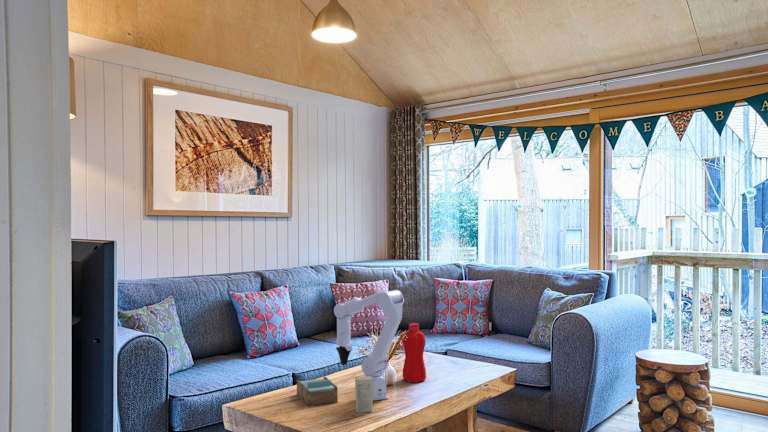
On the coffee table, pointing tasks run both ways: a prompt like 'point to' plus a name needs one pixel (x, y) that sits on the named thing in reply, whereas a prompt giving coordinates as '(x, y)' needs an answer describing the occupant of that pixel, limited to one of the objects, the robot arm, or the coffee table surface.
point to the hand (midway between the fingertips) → (343, 364)
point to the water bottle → (414, 354)
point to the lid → (318, 385)
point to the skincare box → (363, 394)
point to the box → (317, 395)
